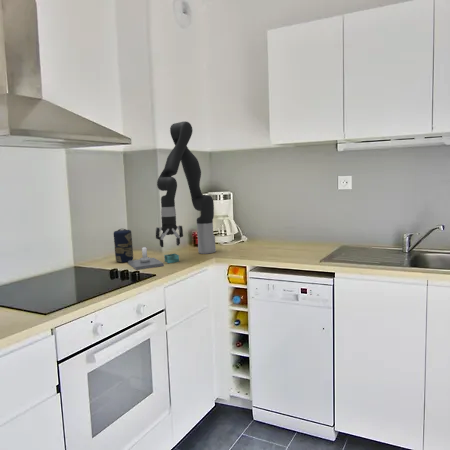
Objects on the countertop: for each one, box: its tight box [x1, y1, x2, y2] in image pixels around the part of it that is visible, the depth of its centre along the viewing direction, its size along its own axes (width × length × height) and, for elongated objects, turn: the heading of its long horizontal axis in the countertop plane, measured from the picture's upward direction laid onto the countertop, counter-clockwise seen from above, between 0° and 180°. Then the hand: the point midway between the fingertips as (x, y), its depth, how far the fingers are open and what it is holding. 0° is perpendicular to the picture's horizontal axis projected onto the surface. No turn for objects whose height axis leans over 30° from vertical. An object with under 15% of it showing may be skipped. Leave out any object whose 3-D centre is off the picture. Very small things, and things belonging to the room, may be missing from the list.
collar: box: [163, 253, 180, 264], centre depth 223 cm, size 6×6×4 cm
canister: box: [113, 228, 134, 263], centre depth 229 cm, size 10×10×18 cm
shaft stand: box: [127, 246, 165, 271], centre depth 217 cm, size 14×18×9 cm
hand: (170, 246), depth 222 cm, fingers open, 8 cm apart
